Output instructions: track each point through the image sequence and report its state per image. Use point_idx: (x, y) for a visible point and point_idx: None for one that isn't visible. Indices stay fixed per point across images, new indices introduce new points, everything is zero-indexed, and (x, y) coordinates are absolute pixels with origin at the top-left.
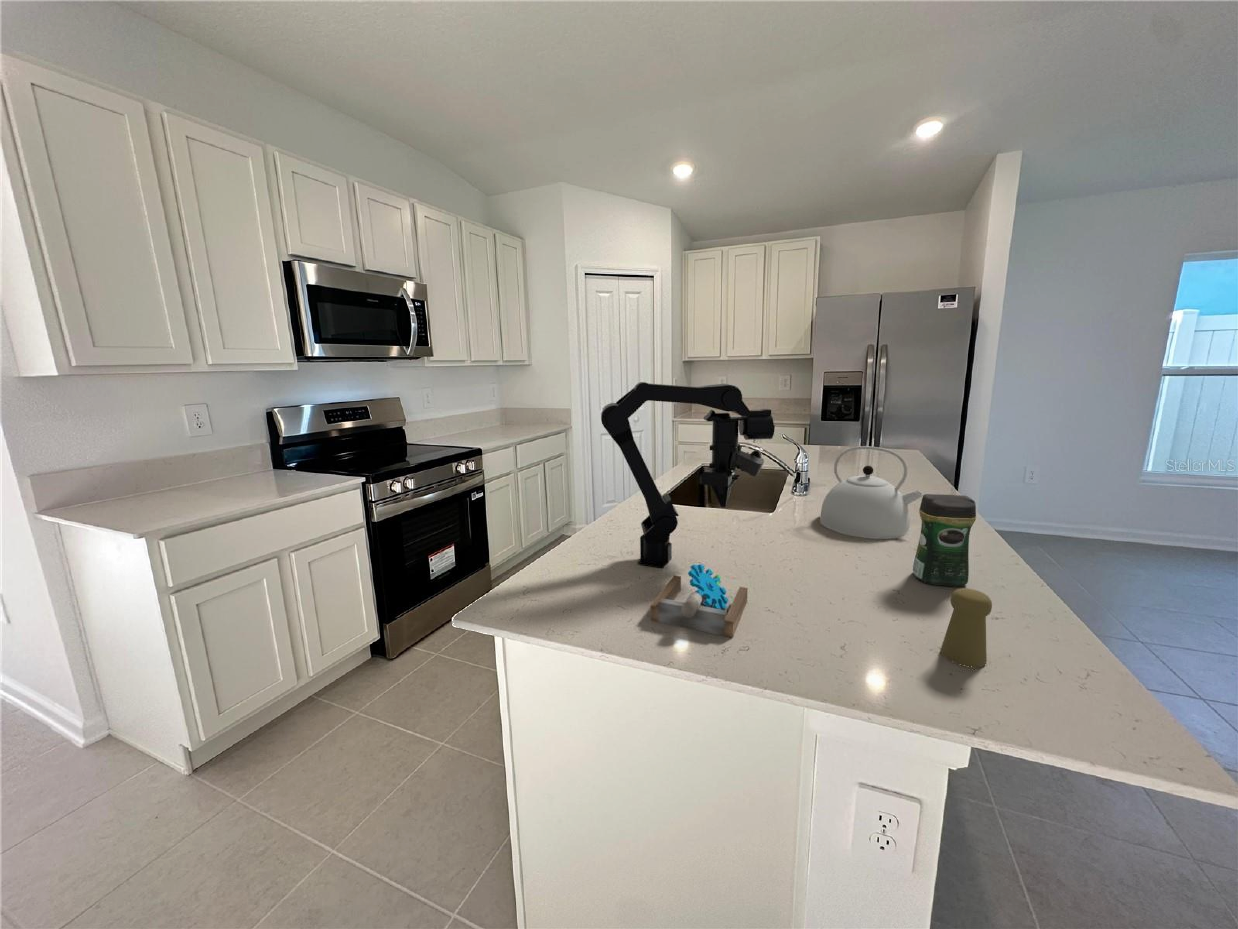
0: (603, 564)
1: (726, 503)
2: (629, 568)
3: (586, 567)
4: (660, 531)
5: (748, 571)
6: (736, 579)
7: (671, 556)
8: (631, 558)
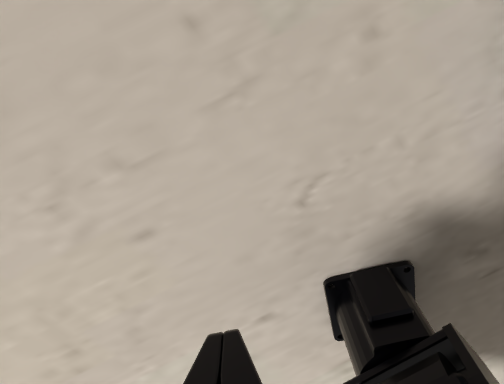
0: None
1: (217, 352)
2: (443, 318)
3: None
4: (491, 379)
5: (275, 7)
6: (379, 16)
7: (355, 279)
8: None
